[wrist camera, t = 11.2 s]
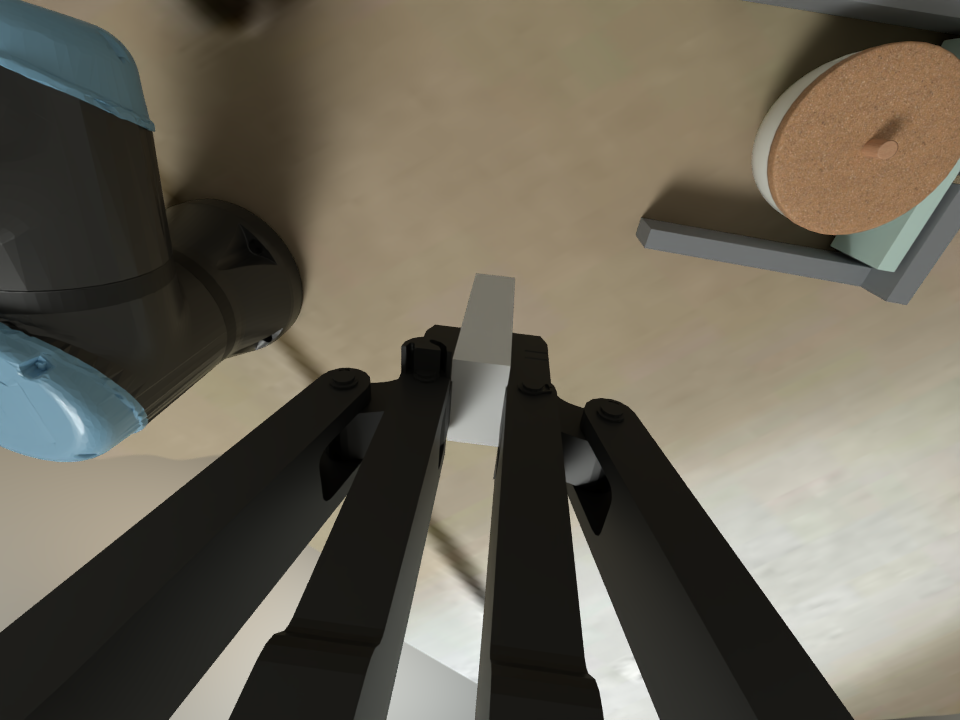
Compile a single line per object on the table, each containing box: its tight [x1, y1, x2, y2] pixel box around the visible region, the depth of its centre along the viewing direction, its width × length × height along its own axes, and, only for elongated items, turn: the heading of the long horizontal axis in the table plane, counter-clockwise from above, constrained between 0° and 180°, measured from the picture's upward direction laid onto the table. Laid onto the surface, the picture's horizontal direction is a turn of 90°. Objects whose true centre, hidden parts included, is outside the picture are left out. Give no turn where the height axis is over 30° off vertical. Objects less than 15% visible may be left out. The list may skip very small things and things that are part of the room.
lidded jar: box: [751, 41, 960, 235], centre depth 30 cm, size 11×11×9 cm
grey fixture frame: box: [636, 0, 960, 305], centre depth 31 cm, size 18×18×7 cm
